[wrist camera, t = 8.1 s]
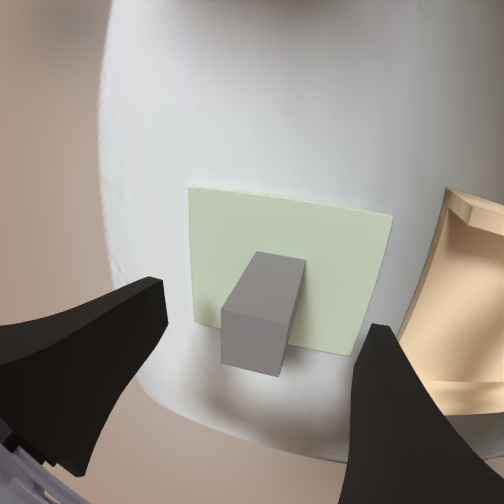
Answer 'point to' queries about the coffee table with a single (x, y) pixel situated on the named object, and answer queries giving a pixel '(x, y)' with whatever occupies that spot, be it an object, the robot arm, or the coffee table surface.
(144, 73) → the coffee table surface
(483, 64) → the coffee table surface
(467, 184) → the coffee table surface
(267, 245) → the cover plate
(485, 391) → the box
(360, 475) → the robot arm
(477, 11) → the coffee table surface
